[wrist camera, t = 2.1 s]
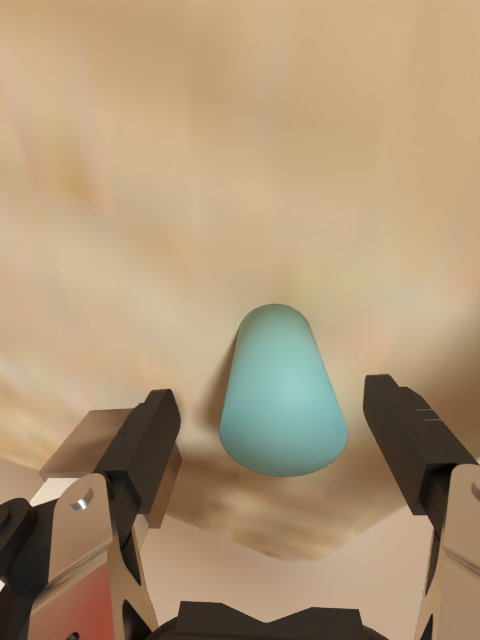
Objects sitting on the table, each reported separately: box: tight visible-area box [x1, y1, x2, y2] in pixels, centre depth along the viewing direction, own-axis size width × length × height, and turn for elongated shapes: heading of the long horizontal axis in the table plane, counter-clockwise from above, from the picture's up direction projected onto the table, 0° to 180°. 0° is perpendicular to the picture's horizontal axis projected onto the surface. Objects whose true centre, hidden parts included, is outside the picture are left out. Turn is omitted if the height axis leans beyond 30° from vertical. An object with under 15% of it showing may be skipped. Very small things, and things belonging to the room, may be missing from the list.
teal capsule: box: [219, 304, 347, 477], centre depth 12 cm, size 4×4×7 cm
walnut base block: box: [39, 408, 182, 528], centre depth 18 cm, size 6×6×5 cm
